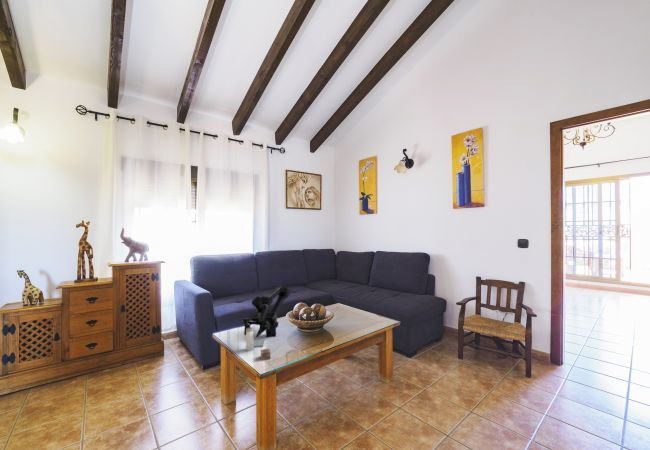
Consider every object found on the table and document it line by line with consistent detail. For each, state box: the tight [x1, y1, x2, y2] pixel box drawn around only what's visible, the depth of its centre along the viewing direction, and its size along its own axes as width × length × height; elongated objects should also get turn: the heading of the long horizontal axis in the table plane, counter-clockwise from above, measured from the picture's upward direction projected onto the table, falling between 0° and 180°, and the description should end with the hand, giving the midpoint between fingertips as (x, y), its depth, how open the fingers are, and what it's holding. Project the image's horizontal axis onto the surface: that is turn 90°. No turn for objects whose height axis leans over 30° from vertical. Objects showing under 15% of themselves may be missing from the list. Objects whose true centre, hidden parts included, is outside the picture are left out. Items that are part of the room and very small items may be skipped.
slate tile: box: [254, 338, 266, 348], centre depth 181 cm, size 10×10×1 cm
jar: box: [245, 326, 255, 352], centre depth 173 cm, size 5×5×13 cm
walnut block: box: [260, 348, 271, 361], centre depth 162 cm, size 5×5×4 cm
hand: (250, 336), depth 174 cm, fingers open, 9 cm apart
